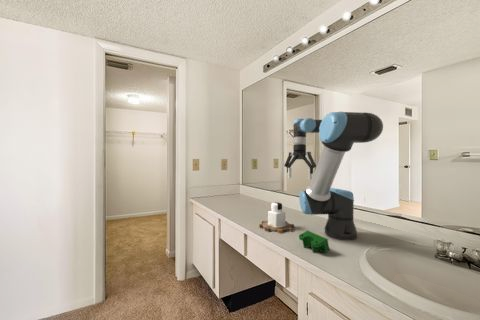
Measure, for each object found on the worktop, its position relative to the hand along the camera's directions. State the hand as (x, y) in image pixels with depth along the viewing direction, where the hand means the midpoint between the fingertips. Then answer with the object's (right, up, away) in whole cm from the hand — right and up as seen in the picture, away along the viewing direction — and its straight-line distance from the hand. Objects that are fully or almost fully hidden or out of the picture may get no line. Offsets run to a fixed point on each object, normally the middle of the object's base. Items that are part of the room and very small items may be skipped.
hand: (299, 178), depth 129 cm
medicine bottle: (-16, -25, -11) cm, 32 cm away
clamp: (-6, -27, -40) cm, 49 cm away
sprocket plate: (-16, -27, -11) cm, 33 cm away
